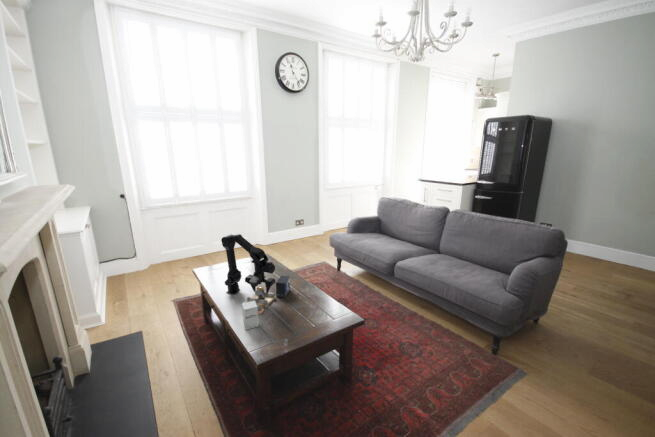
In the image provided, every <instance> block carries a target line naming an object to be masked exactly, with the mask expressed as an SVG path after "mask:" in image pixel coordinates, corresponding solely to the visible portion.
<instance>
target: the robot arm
mask: <svg viewBox="0 0 655 437" xmlns="http://www.w3.org/2000/svg"><path fill="white" fill-rule="evenodd" d="M220 239H221V240H220V241H221V245H222V247H223V248H224V249H225V253H226V259H227V264H228V265H227V266H228V272H227V275H226V276H227V279H226V280H225V281H224V285H225V286H227V291H226V293H227V294H232V295H236V294H237V293H239V292H240V291H241V289H240V285H239V283H240V281H241V279H242V272H241V270H239V269H238V266H237V259H236V254H235V253H236V252H235V247H236V246H235V245H236V243H237V244H238V245H239V246H240V247H241V248H242V249H244V250H245V251H246V252H247V253H248V254H249V256H250V258H251V259H252V260H251V261H250V262H251V263H252V264H253V265H254V272H253V274H248V275H247V276H246V277H245V278H244V282H245V283H246V284H249V285H250V287H251V288H252V290H253V292H254V293H255V290H257V287H259V285H261V284H262V283H264V288H265V289H266V291H265V292H266V293H267V294H268V292H269V291H270V289H271V287H272V286H274V284H276V279H275V278H272V277H269V278H267V277H266V275H265V273H268V274H273V273H275V271H276V265H275V264H274V263H273V261H269V258H268V256H267V254H266V252H265V251H264V249H262V248H260V247H256V246H254V245H253V244H252V243H251V242H249V240H247V239H245V238H244V237H243V235H242V234H239V233H238V234H228V235H226V236H223V237H222V238H220ZM266 278H267V279H266ZM269 293H270V292H269Z"/></svg>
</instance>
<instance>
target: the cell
mask: <svg viewBox="0 0 655 437" xmlns="http://www.w3.org/2000/svg"><path fill="white" fill-rule="evenodd" d="M256 290H257V296H258V299H262V300H264V299H265V294H264V292H265V286H256Z"/></svg>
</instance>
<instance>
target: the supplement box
mask: <svg viewBox="0 0 655 437" xmlns="http://www.w3.org/2000/svg"><path fill="white" fill-rule="evenodd" d="M241 311H242V320H243V321H242V323H243V327H244V329H245V331H246V330H249V329H254V328H258V327H259V315H258V308H257V304H256V302H255V301H251V302H247V301H246V302H243V303H241Z"/></svg>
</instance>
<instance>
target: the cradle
mask: <svg viewBox="0 0 655 437" xmlns="http://www.w3.org/2000/svg"><path fill="white" fill-rule="evenodd" d="M264 294H265V299H264V300H262V299H258V296H257V289H256V290H255V292H254V295H253V296H247V298H246V300H247V301H246V302H251V301H255V302H256V304H257V306H261V307H263V308H268V307H269V306H270V304H272V302H273V301H274V300H275V299H276V298H277V297H276V294H275V293H274V292H268V294H267V293H266V291H264Z"/></svg>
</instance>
